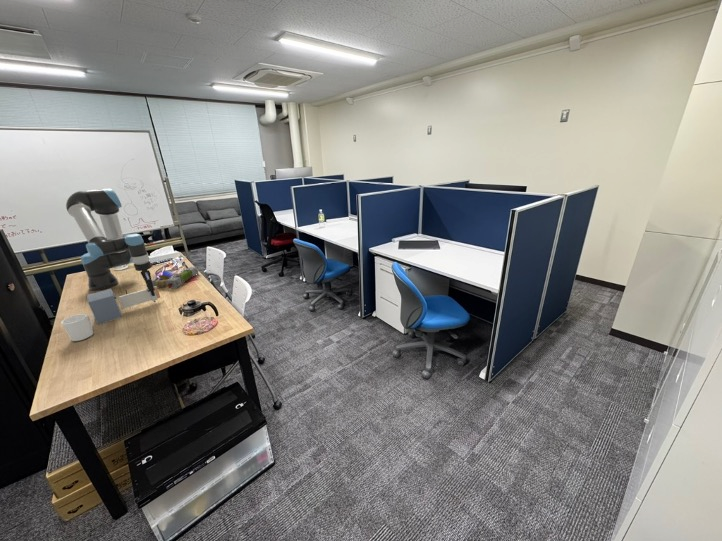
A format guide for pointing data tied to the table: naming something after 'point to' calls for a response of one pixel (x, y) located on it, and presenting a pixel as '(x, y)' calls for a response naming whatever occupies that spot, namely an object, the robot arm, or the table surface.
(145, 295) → the slim white post
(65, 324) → the mug
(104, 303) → the block
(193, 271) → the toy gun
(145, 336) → the table surface
